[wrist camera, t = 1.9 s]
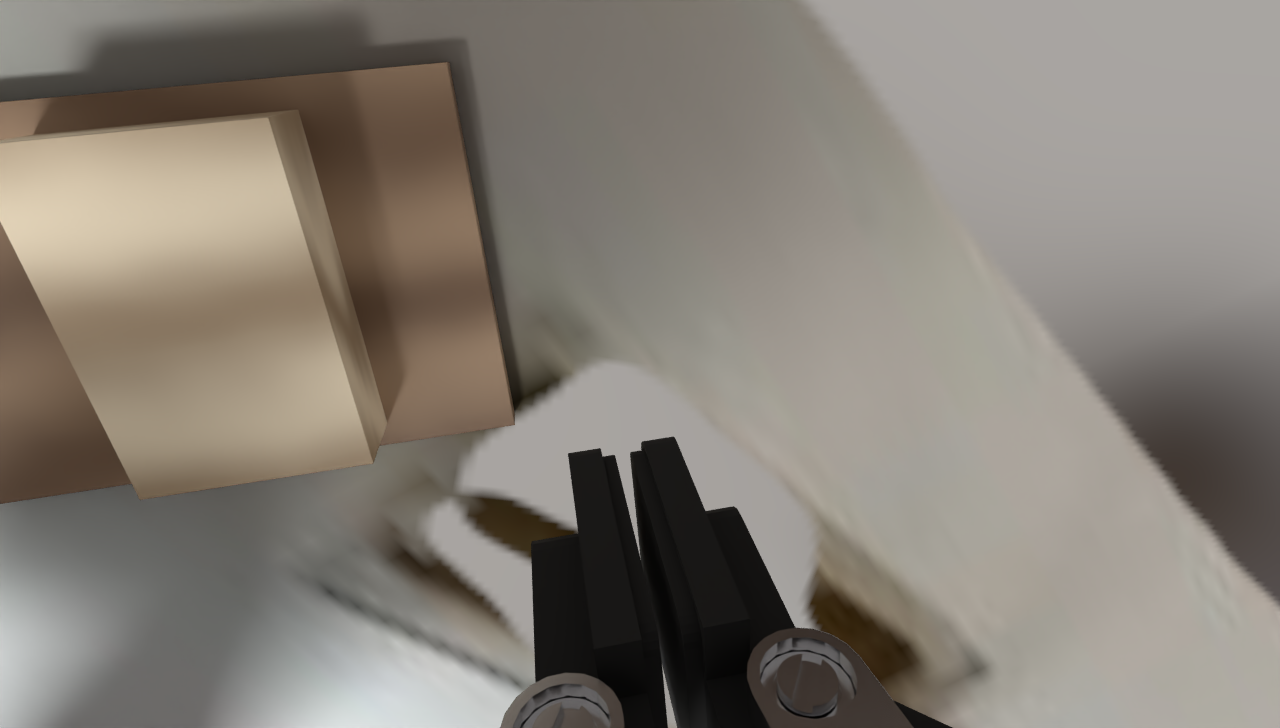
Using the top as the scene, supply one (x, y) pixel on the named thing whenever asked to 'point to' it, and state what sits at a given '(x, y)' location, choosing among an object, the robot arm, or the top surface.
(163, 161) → the cream rectangular slab
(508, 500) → the top surface
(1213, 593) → the top surface
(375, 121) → the board
